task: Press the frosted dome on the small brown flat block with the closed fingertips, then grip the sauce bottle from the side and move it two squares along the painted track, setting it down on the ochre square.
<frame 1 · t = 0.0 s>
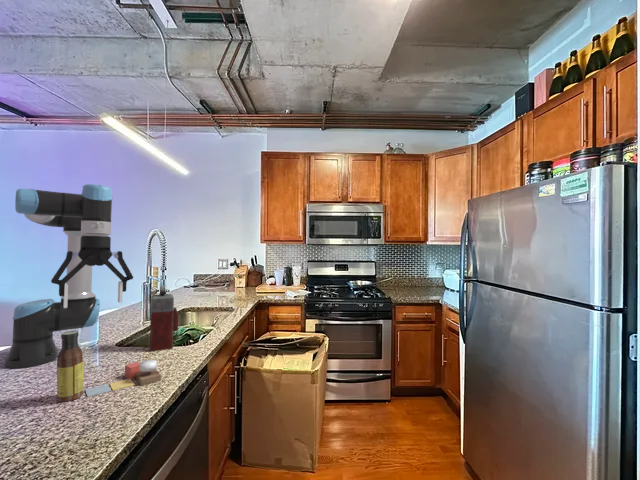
hand: (93, 304, 95), 28 cm above the countertop, tool pointing down, fingers open, 13 cm apart
square two: (121, 384, 103), on the countertop
square one: (98, 390, 98), on the countertop
dome: (148, 365, 107), point 5 cm above the countertop, slide at -0.2 cm
dark red rectangular canister: (163, 347, 141), on the countertop
die: (133, 376, 110), on the countertop
brown flat block: (147, 379, 107), on the countertop
sauce bottle: (69, 398, 94), on the countertop
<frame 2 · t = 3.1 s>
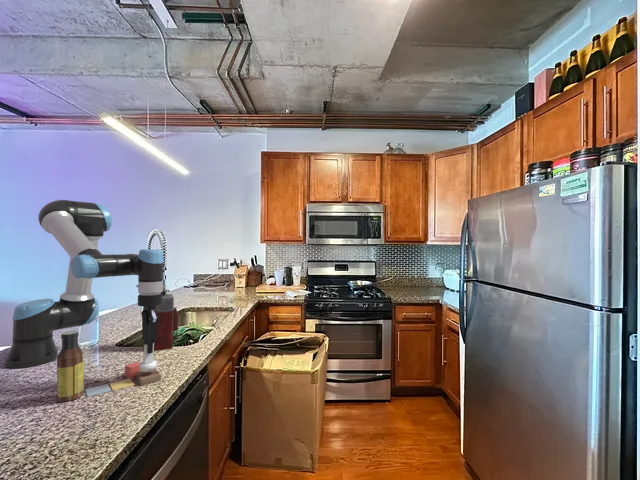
hand: (148, 361, 107), 6 cm above the countertop, tool pointing down, fingers closed
dome: (148, 365, 107), point 5 cm above the countertop, slide at -0.2 cm, touching gripper
everything else where it was.
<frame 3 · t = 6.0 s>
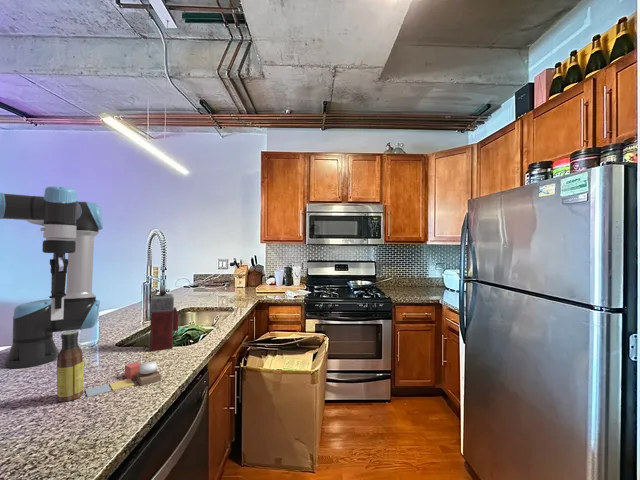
hand: (57, 319, 91), 24 cm above the countertop, tool pointing down, fingers closed
dome: (148, 367, 107), point 4 cm above the countertop, slide at -0.8 cm
everything else where it was.
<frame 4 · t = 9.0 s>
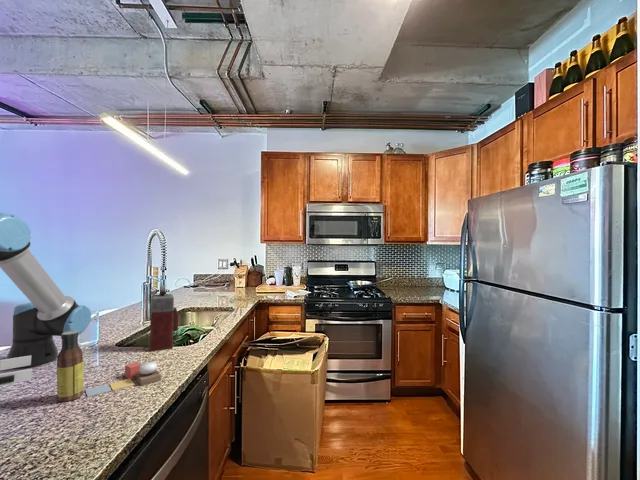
hand: (31, 366, 88), 11 cm above the countertop, tool horizontal, fingers open, 13 cm apart
nothing on the countertop moved.
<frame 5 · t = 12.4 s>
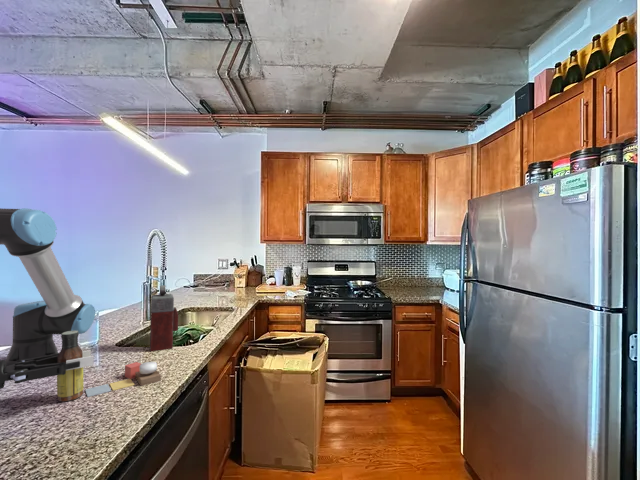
hand: (91, 357, 97), 11 cm above the countertop, tool horizontal, fingers closed on sauce bottle, 6 cm apart
sauce bottle: (69, 398, 93), on the countertop, touching gripper
everything else where it was.
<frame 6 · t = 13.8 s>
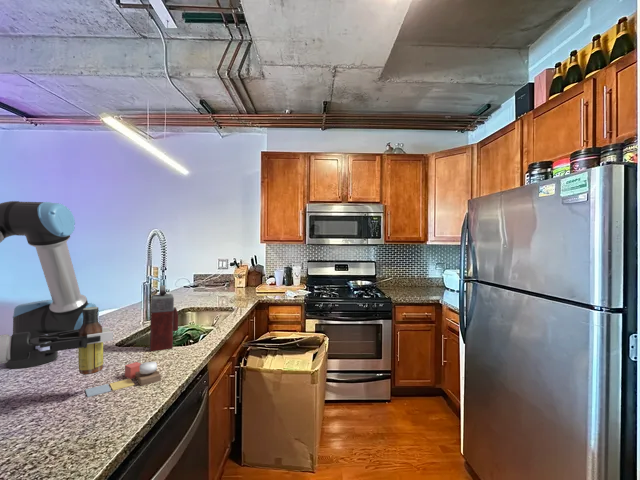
hand: (111, 333, 100), 18 cm above the countertop, tool horizontal, fingers closed on sauce bottle, 6 cm apart
sauce bottle: (90, 372, 96), point 7 cm above the countertop, touching gripper
everything else where it was.
when the fingers open (13 cm above the countertop, at t = 15.7 s): sauce bottle drops 1 cm, resting on square two.
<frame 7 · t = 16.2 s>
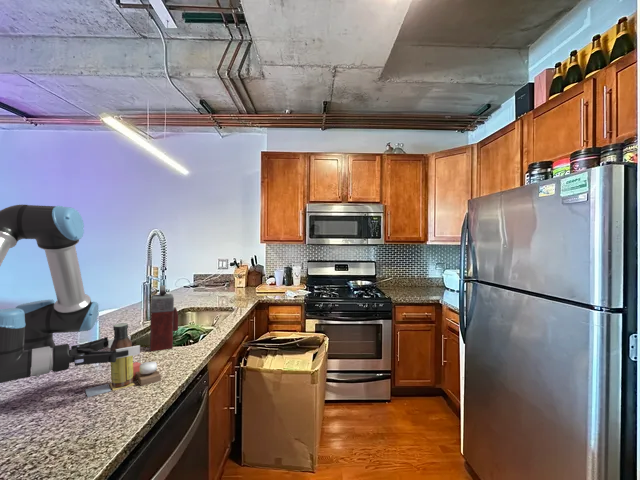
hand: (134, 344, 105), 13 cm above the countertop, tool horizontal, fingers open, 13 cm apart
sauce bottle: (121, 384, 103), resting on square two
everything else where it was.
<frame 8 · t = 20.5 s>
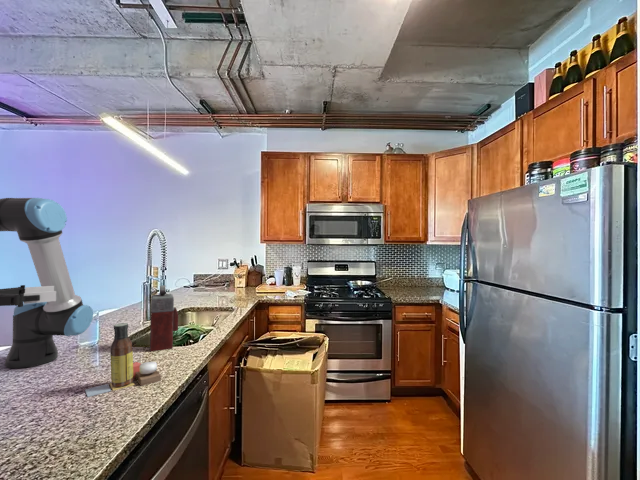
hand: (55, 292, 91), 32 cm above the countertop, tool horizontal, fingers open, 13 cm apart
nothing on the countertop moved.
at the end: sauce bottle inside the target area (0.0 cm from its centre), resting on square two; sauce bottle tilted 1°; the gripper is holding nothing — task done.
